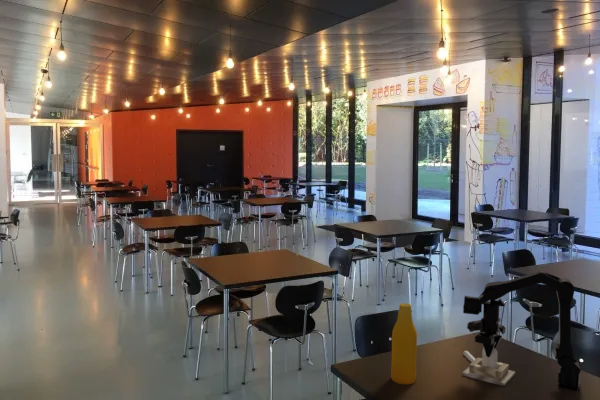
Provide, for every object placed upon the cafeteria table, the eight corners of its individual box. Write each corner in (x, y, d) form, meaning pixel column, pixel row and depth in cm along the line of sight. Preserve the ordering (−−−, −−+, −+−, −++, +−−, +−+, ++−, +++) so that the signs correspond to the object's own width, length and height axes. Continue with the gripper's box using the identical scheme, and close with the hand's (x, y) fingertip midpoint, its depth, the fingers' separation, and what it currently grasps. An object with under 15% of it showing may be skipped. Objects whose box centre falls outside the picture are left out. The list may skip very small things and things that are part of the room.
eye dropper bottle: (487, 371, 203) (488, 340, 202) (480, 365, 209) (481, 336, 208) (498, 370, 204) (499, 340, 203) (491, 365, 209) (491, 335, 208)
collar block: (515, 374, 207) (515, 364, 207) (504, 386, 196) (505, 375, 196) (474, 364, 217) (474, 354, 216) (462, 375, 206) (462, 365, 205)
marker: (463, 354, 230) (478, 369, 214) (459, 352, 230) (474, 366, 214) (466, 349, 230) (481, 363, 214) (462, 347, 230) (477, 361, 214)
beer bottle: (386, 376, 204) (388, 302, 201) (407, 373, 207) (409, 300, 204) (399, 386, 195) (401, 309, 193) (420, 383, 198) (422, 306, 196)
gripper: (478, 306, 217) (477, 344, 218) (461, 317, 202) (460, 357, 203) (506, 311, 210) (505, 350, 211) (491, 323, 195) (490, 364, 196)
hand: (489, 355), depth 206 cm, fingers closed on eye dropper bottle, 4 cm apart
